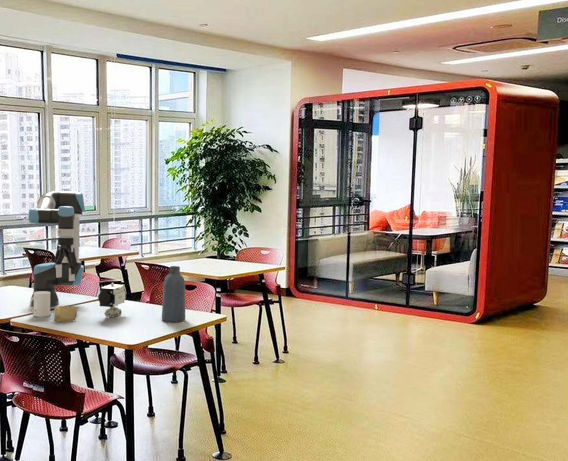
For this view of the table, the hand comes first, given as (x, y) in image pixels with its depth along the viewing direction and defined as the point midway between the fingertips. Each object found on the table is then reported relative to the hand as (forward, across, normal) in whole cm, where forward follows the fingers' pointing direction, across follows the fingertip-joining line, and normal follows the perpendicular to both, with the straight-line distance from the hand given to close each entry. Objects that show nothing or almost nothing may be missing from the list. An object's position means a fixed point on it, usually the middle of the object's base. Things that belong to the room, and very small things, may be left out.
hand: (65, 279), depth 311 cm
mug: (+21, -18, -5) cm, 29 cm away
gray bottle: (+22, +32, +44) cm, 58 cm away
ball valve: (+21, +6, +24) cm, 33 cm away
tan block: (+21, 0, 0) cm, 21 cm away
